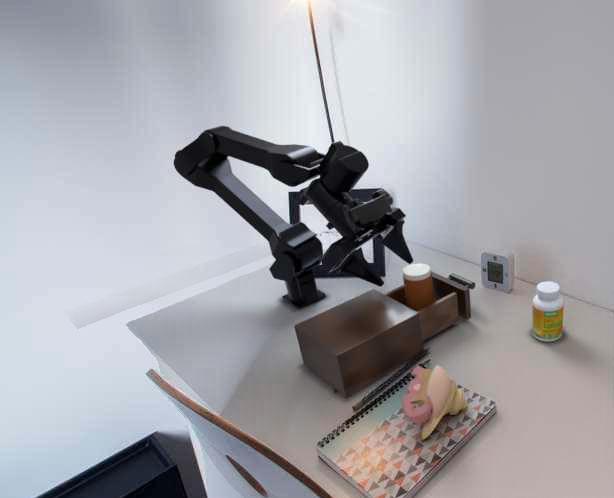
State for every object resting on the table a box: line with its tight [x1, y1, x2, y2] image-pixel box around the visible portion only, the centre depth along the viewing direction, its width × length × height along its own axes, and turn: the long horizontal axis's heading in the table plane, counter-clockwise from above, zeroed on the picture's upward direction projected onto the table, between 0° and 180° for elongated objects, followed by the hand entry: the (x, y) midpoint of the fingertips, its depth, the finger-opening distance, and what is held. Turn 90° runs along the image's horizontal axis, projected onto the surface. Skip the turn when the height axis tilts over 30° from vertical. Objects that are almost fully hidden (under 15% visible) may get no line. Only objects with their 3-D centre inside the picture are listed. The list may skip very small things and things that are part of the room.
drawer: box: [383, 270, 476, 342], centre depth 97 cm, size 19×11×6 cm, turn 137°
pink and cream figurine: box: [401, 364, 469, 440], centre depth 75 cm, size 9×10×10 cm
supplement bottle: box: [531, 280, 565, 343], centre depth 93 cm, size 5×5×10 cm
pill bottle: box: [402, 262, 434, 312], centre depth 95 cm, size 5×5×10 cm
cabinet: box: [293, 288, 425, 399], centre depth 88 cm, size 16×13×8 cm
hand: (397, 273), depth 95 cm, fingers open, 9 cm apart
